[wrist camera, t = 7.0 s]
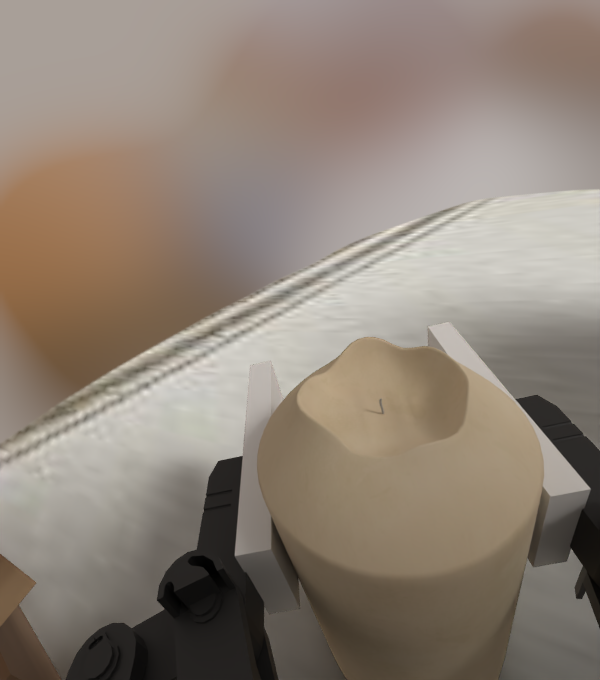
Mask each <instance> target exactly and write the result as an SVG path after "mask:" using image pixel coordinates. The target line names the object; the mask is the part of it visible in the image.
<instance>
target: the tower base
mask: <svg viewBox="0 0 600 680" xmlns="http://www.w3.org/2000/svg"><path fill="white" fill-rule="evenodd" d="M0 680H61V678H60V676H59V675H58V673H57V671H56V669H55V668H54V666H53V664H52V662H51V661H50V659H49V657H48V655H47V654H46V652H45V650H44V648H43V647H42V645H41V643H40V641H39V640H38V638H37V636H36V634H35V633H34V631H33V629H32V627H31V626H30V624H29V622H28V620H27V619H26V617H25V615H24V613H23V612H22V610H21V608H20V606H19V605H18V606H17V607H16V608H15V610H14V611H13V612H12V613H11V614H10V616H9V617H8V618H7V619H6V620H5V622H4V623H3V624H2V625H1V627H0Z"/></svg>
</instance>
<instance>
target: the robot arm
mask: <svg viewBox="0 0 600 680" xmlns="http://www.w3.org/2000/svg"><path fill="white" fill-rule="evenodd" d="M428 347H434V348H436V349H438V350H441V351H443V352H444V353H446V354H447V355H449V356H450V357H451V358H453V359H454V360H455V361H457V362H459V363H460V364H462V365H464V366H466V367H467V368H469V369H471V370H472V371H474V372H476V373H477V374H479V375H481V376H482V377H484V378H485V379H487V380H488V381H490V382H491V383H493V384H494V385H495V386H497V387H498V388H499V389H501V390H502V391H503V392H504V393H506V394H507V395H508V396H509V397H510V398H511V399H512V400H513V401H514V402H515V403H516V404H517V405H518V407H519V408H520V409H521V410H522V411H523V413H524V414H525V415H526V417H527V418H528V420H529V422H530V423H531V425H532V426H533V428H534V430H535V433H536V435H537V438H538V440H539V442H540V446H541V450H542V455H543V460H544V481H543V487H542V494H541V498H540V503H539V508H538V512H537V517H536V521H535V526H534V530H533V535H532V539H531V544H530V548H529V552H528V559H529V561H530V563H531V564H532V566H533V567H537V566H543V565H549V564H554V563H560V562H566V561H567V558H568V555H569V553H570V550H571V549H572V550H573V552H574V553H575V555H576V556H577V557H578V559H579V560H580V562H581V563H582V565H583V567H582V570H581V572H580V575H579V578H578V580H577V583H576V585H575V593H576V598H577V599H582V598H583V596H584V593H585V591H586V593H587V595H588V598H589V601H590V603H591V606H592V609H593V611H594V614H595V617H596V620H597V622H598V625H599V628H600V451H599V450H598V449H597V447H596V446H595V445H594V444H593V443H592V442H591V441H590V440H589V439H588V438H587V437H584V436H583V433H582V432H581V431H580V430H579V429H578V428H577V427H576V426H575V425H574V424H572V423H571V421H570V419H569V418H568V417H567V416H566V415H565V414H564V413H563V412H562V411H561V410H560V409H559V408H558V407H557V406H556V405H554V404H552V403H550V402H548V401H547V400H545V399H543V398H541V397H540V396H538V395H534V396H529V397H525V398H520V399H514V397H513V396H512V395H511V394H510V393H509V391H508V390H507V389H506V388H505V387H504V386H503V384H502V383H501V382H500V381H499V380H498V378H497V377H496V376H495V375H494V374H493V372H492V371H491V370H490V369H489V368H488V367H487V365H486V364H485V363H484V362H483V361H482V359H481V358H480V357H479V356H478V355H477V354H476V352H475V351H474V350H473V349H472V348H471V346H470V345H469V344H468V343H467V342H466V340H465V339H464V338H463V337H462V336H461V335H460V333H459V332H458V331H457V330H456V329H455V327H454V326H453V325H452V324H451V323H450V322H446V323H441V324H436V325H432V326H428ZM282 401H283V396H282V393H281V390H280V387H279V384H278V381H277V378H276V375H275V372H274V368H273V365H272V362H271V361H267V362H262V363H258V364H253V365H250V373H249V385H248V398H247V410H246V422H245V434H244V447H243V456H240V457H236V458H231V459H226V460H221V461H218V463H217V464H216V466H215V468H214V470H213V471H212V473H211V475H210V477H209V481H208V487H207V493H206V496H207V498H205V504H204V513H203V516H202V522H201V528H200V534H199V540H198V546H197V550H194V551H191V552H187V553H186V554H184V555H183V556H182V557H180V558H179V559H177V560H176V561H175V562H174V563H173V564H172V565H171V567H170V568H169V569H168V570H167V571H166V573H165V575H164V577H163V579H162V581H161V583H160V585H159V591H158V597H157V601H158V602H159V603H160V604H161V605H162V606H163V607H164V608H165V609H164V610H163V611H161V612H160V613H158V614H156V615H154V616H153V617H151V618H149V619H147V620H146V621H144V622H142V623H140V624H138V625H137V626H135V627H133V628H130V627H128V626H127V625H126V624H124V623H112V624H109V625H107V626H105V627H103V628H100V629H99V630H98V631H97V632H96V633H94V634H93V635H92V636H91V637H90V638H89V639H88V640H87V641H86V642H85V644H84V645H83V646H82V648H81V649H80V650H79V651H78V653H77V654H76V657H75V659H74V661H73V663H72V665H71V667H70V669H69V672H68V675H67V678H66V680H278V676H277V672H276V667H275V663H274V659H273V655H272V650H271V646H270V642H269V638H268V635H267V633H266V631H265V629H264V606H265V608H266V609H267V611H268V613H269V614H273V613H279V612H284V611H290V610H296V609H300V599H299V582H298V575H297V573H296V571H295V569H294V566H293V564H292V562H291V560H290V557H289V555H288V553H287V551H286V548H285V546H284V544H283V542H282V539H281V537H280V535H279V533H278V530H277V528H276V526H275V524H274V521H273V519H272V517H271V515H270V512H269V510H268V508H267V506H266V503H265V501H264V499H263V496H262V492H261V489H260V485H259V481H258V473H257V454H258V449H259V444H260V440H261V437H262V434H263V431H264V429H265V427H266V425H267V423H268V421H269V419H270V417H271V416H272V414H273V413H274V411H275V410H276V408H277V407H278V406H279V405H280V403H281V402H282Z"/></svg>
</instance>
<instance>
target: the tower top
mask: <svg viewBox="0 0 600 680" xmlns="http://www.w3.org/2000/svg"><path fill="white" fill-rule="evenodd" d="M35 584H36V582H35V581H34V580H32V579H31V578H30V577H29V576H27V575H26V574H25V573H24V572H22V571H21V570H20V569H19V568H17V567H16V566H15V565H14V564H12V563H11V562H10V561H9V560H7V559H6V558H5V557H4V556H2V555H1V554H0V627H1V625H2V624H3V623H4V622H5V620H6V619H7V618H8V617H9V616H10V614H11V613H12V612H13V611H14V610H15V608H16V607H17V606H18V605H19V603H20V602H21V601H22V600H23V599H24V597H25V596H26V595H27V594H28V593H29V591H30V590H31V589H32V588H33V586H34V585H35Z"/></svg>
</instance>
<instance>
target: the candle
mask: <svg viewBox="0 0 600 680" xmlns="http://www.w3.org/2000/svg"><path fill="white" fill-rule="evenodd" d="M257 473H258V481H259V485H260V489H261V492H262V496H263V499H264V501H265V503H266V506H267V508H268V510H269V512H270V515H271V517H272V519H273V521H274V524H275V526H276V528H277V530H278V533H279V535H280V537H281V539H282V542H283V544H284V546H285V548H286V551H287V553H288V555H289V557H290V560H291V562H292V564H293V566H294V569H295V571H296V573H297V575H298V578H299V580H300V582H301V584H302V587H303V589H304V591H305V593H306V596H307V598H308V600H309V602H310V604H311V607H312V609H313V611H314V613H315V616H316V618H317V620H318V622H319V625H320V627H321V629H322V631H323V634H324V636H325V638H326V640H327V643H328V645H329V647H330V649H331V651H332V654H333V656H334V658H335V660H336V662H337V664H338V666H339V668H340V669H341V671H342V673H343V674H344V676H345V677H346V679H347V680H498V678H499V675H500V672H501V669H502V666H503V662H504V659H505V655H506V651H507V646H508V642H509V637H510V633H511V628H512V624H513V619H514V615H515V610H516V606H517V601H518V597H519V593H520V588H521V584H522V579H523V575H524V570H525V566H526V561H527V557H528V552H529V548H530V544H531V539H532V535H533V530H534V526H535V521H536V517H537V512H538V508H539V503H540V498H541V494H542V487H543V481H544V460H543V455H542V450H541V446H540V442H539V440H538V438H537V435H536V433H535V430H534V428H533V426H532V425H531V423H530V422H529V420H528V418H527V417H526V415H525V414H524V413H523V411H522V410H521V409H520V408H519V407H518V405H517V404H516V403H515V402H514V401H513V400H512V399H511V398H510V397H509V396H508V395H507V394H506V393H504V392H503V391H502V390H501V389H499V388H498V387H497V386H495V385H494V384H493V383H491V382H490V381H488V380H487V379H485V378H484V377H482V376H481V375H479V374H477V373H476V372H474V371H472V370H471V369H469V368H467V367H466V366H464V365H462V364H460V363H459V362H457V361H455V360H454V359H453V358H451V357H450V356H449V355H447V354H446V353H444V352H443V351H441V350H438V349H436V348H434V347H428V346H422V347H415V348H401V347H399V346H396V345H393V344H391V343H389V342H387V341H385V340H383V339H379V338H376V337H364V338H361V339H357V340H356V341H354V342H353V343H351V344H350V345H349V346H348V347H347V348H346V349H345V350H344V351H343V352H342V353H341V355H340V356H338V357H337V358H336V359H334V360H333V361H331V362H330V363H329V364H327V365H325V366H323V367H322V368H320V369H319V370H317V371H315V372H314V373H312V374H311V375H310V376H308V377H307V378H306V379H304V380H303V381H302V382H301V383H300V384H299V385H298V386H296V387H295V388H294V389H293V390H292V391H291V392H290V393H289V394H288V395H287V397H286V398H285V399H284V400H283V401H282V402H281V403H280V405H279V406H278V407H277V408H276V410H275V411H274V413H273V414H272V416H271V417H270V419H269V421H268V423H267V425H266V427H265V429H264V431H263V434H262V437H261V440H260V444H259V449H258V454H257Z"/></svg>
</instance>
